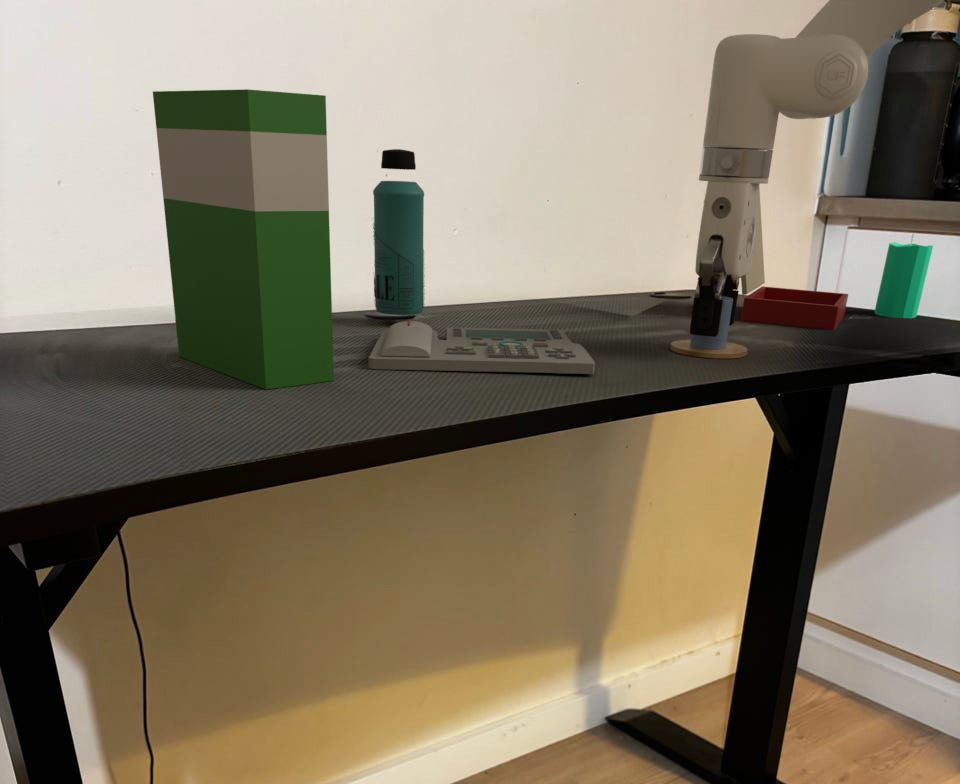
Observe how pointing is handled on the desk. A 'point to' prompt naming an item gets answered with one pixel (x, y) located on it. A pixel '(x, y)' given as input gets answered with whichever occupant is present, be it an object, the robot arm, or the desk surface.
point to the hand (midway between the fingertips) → (712, 329)
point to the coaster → (709, 350)
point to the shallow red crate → (794, 307)
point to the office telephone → (479, 350)
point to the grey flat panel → (755, 260)
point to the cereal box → (249, 232)
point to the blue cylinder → (721, 338)
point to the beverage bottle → (398, 240)
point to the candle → (903, 280)
